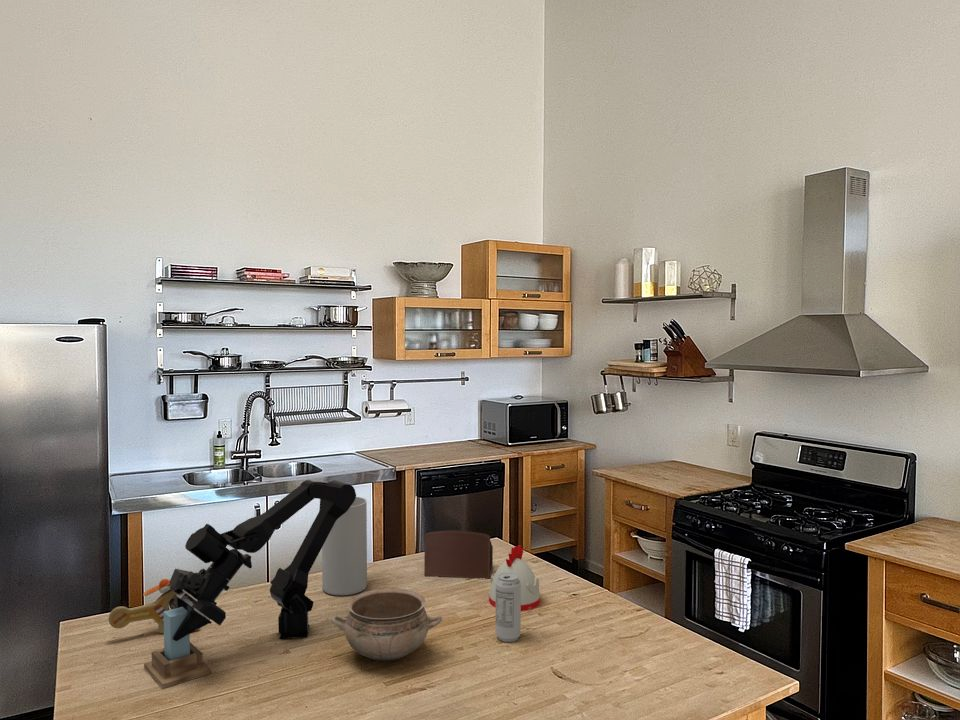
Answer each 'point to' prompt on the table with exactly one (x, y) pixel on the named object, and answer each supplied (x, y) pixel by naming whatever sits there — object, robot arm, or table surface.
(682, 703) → the table surface
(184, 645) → the pale blue tower
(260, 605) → the table surface
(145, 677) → the table surface
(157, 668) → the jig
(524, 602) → the kitchen timer
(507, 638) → the energy drink can
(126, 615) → the toy helicopter
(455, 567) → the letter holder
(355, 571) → the cylinder vase
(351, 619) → the cooking pot
